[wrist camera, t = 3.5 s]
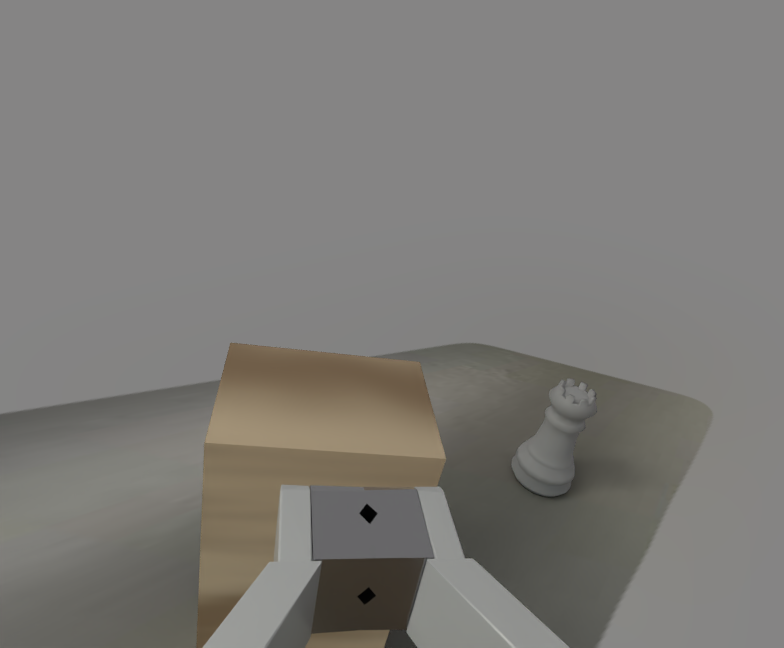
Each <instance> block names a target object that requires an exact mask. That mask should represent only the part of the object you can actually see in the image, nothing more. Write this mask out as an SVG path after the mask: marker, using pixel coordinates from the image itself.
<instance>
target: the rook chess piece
mask: <svg viewBox="0 0 784 648" xmlns="http://www.w3.org/2000/svg"><path fill="white" fill-rule="evenodd" d="M574 382H575V380H574V379H569V378H567V381H564V380H563V379H562V380H561V381H560V382H559V384H558V386H556V387H553V388H552V389H551V390H550V391H549V398H550V401H551V403H552V405H551V406H549V407H548V408H546V409H545V416H546V417H545V419H544V422H543V423H542V425H541V427H540V428H539V430H538V431H537V433H536V434H535V436H532V437H530V438H529V439H528V440H527V441H525V442H524V443H523V444H522V445H521V446H520V447H519V448H518V449H517V451H516V455H515V456H514V457H513V458H512V463H511V466H512V469H513V471H514V474H515V476H516V479H517V480H518V481H519V482H520V483H521V484H522V486H523V487H525V488H526V489H528V490H529V491H531V492H532V493H535V494H538V495H541V496H547V497H554V496H558V495H561V494H564V493H566V492H567V491H568V490H569V488H570V487H571V481H572V479H573V478H574V475H575V465H574V456H573V450H574V447H575V443H576V439H577V437H578V434H579V432H581V431H583V430H584V429H585V421H584V420H585V419H587V418H589V417H592V416H594V415H595V414H596V412H597V406H596V404H595V401H596V397H595V396H596V392H595V391H594V390H593V389H590V390H589V392H587V391H586V388H587V386H588V385H587V384H585V383H583V382H581V383H580V385H579V387H578V386H575V385H574Z"/></svg>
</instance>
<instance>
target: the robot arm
mask: <svg viewBox="0 0 784 648" xmlns="http://www.w3.org/2000/svg"><path fill="white" fill-rule="evenodd" d="M356 630H407V631H406V632H407V634H408V635H409V637H410V638H411V639H412V641H413V642H414V643H415V645H416V646H417V648H570V647H568V646H567V645H566V644H565V643H564V642H563V641H562V640H561V639H560V638H559V637H558V636H557V635H555V634H554V633H553V632H552V631H551V630H550V629H549V628H548V627H547V626H546V625H545V624H544V623H542V622H541V621H540V620H539V619H538V618H537V617H536V616H535V615H534V614H533V613H532V612H531V611H529V610H528V609H527V608H526V607H525V606H524V605H523V604H522V603H521V602H520V601H519V600H518V599H517V598H515V597H514V596H513V595H512V594H511V593H510V592H509V591H508V590H507V589H506V588H505V587H504V586H502V585H501V584H500V583H499V582H498V581H497V580H496V579H495V578H494V577H493V576H492V575H491V574H489V573H488V572H487V571H486V570H485V569H484V568H483V567H482V566H481V565H480V564H479V563H478V562H476V561H475V560H474V559H473V558H465V556H464V553H463V549H462V546H461V543H460V540H459V537H458V534H457V531H456V528H455V525H454V522H453V518H452V515H451V512H450V509H449V506H448V503H447V500H446V497H445V494H444V491H443V490H442V488H441V487H414V488H413V487H346V486H319V485H310V486H301V485H281V488H280V496H279V506H278V516H277V526H276V537H275V549H274V562H269V563H268V564H267V565H266V567H265V568H264V569H263V571H262V572H261V573H260V574H259V576H258V577H257V578H256V580H255V581H254V582H253V583H252V585H251V586H250V587H249V589H248V590H247V591H246V592H245V594H244V595H243V596H242V598H241V599H240V600H239V601H238V603H237V604H236V605H235V607H234V608H233V609H232V610H231V612H230V613H229V614H228V616H227V617H226V618H225V619H224V621H223V622H222V623H221V625H220V626H219V627H218V628H217V630H216V631H215V632H214V634H213V635H212V636H211V637H210V639H209V640H208V641H207V643H206V644H205V645H204V646H203V648H305V646H306V645H307V643H308V641H309V639H310V637H311V634H315V633H329V632H343V631H356Z"/></svg>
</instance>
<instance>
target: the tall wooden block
mask: <svg viewBox="0 0 784 648" xmlns="http://www.w3.org/2000/svg"><path fill="white" fill-rule="evenodd" d="M445 461H446V457H445V453H444V449H443V446H442V442H441V438H440V435H439V431H438V427H437V424H436V420H435V416H434V413H433V409H432V405H431V402H430V398H429V394H428V391H427V387H426V383H425V380H424V376H423V372H422V369H421V365H420V362H414V361H405V360H395V359H385V358H375V357H365V356H355V355H345V354H336V353H326V352H317V351H307V350H297V349H287V348H277V347H266V346H257V345H247V344H238V343H230V347H229V351H228V355H227V359H226V362H225V366H224V370H223V373H222V377H221V381H220V385H219V389H218V393H217V397H216V400H215V404H214V408H213V412H212V416H211V420H210V423H209V427H208V431H207V435H206V439H205V443H204V468H203V494H202V520H201V545H200V571H199V597H198V622H197V648H203V646H204V645H205V644H206V643H207V641H208V640H209V639H210V637H211V636H212V635H213V634H214V632H215V631H216V630H217V628H218V627H219V626H220V625H221V623H222V622H223V621H224V619H225V618H226V617H227V616H228V614H229V613H230V612H231V610H232V609H233V608H234V607H235V605H236V604H237V603H238V601H239V600H240V599H241V598H242V596H243V595H244V594H245V592H246V591H247V590H248V589H249V587H250V586H251V585H252V583H253V582H254V581H255V580H256V578H257V577H258V576H259V574H260V573H261V572H262V571H263V569H264V568H265V567H266V565H267V564H268V563H269V562H274V549H275V537H276V526H277V516H278V506H279V496H280V488H281V485H301V486H310V485H319V486H346V487H413V488H414V487H437V485H438V482H439V479H440V476H441V473H442V470H443V467H444V464H445ZM389 631H390V630H356V631H343V632H329V633H315V634H311V637H310V639H309V641H308V643H307V645H306V646H305V648H384V646H385V643H386V640H387V637H388V634H389Z"/></svg>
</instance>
